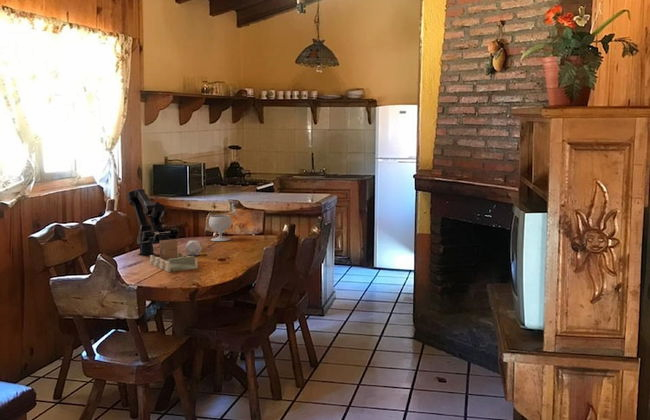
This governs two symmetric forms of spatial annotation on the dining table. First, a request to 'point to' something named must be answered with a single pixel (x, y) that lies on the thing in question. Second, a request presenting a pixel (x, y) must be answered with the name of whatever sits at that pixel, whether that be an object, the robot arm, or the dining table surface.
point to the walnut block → (168, 249)
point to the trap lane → (175, 263)
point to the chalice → (220, 225)
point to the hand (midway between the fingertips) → (165, 247)
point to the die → (193, 248)
